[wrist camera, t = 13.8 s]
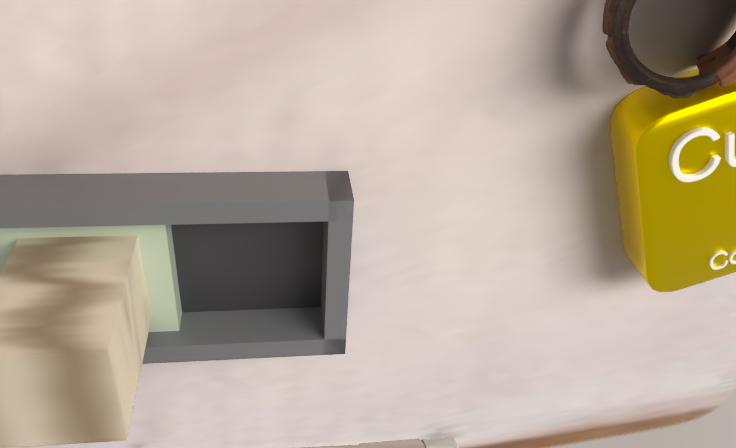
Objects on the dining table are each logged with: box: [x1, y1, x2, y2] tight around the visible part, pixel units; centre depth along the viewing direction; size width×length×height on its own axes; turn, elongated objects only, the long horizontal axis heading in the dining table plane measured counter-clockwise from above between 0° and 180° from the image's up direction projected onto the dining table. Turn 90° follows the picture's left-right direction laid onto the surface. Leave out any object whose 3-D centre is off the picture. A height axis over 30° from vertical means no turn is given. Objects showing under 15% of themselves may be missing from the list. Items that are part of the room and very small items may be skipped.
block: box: [0, 235, 151, 448], centre depth 39 cm, size 7×7×10 cm
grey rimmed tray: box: [0, 171, 354, 364], centre depth 44 cm, size 32×13×4 cm, turn 86°
